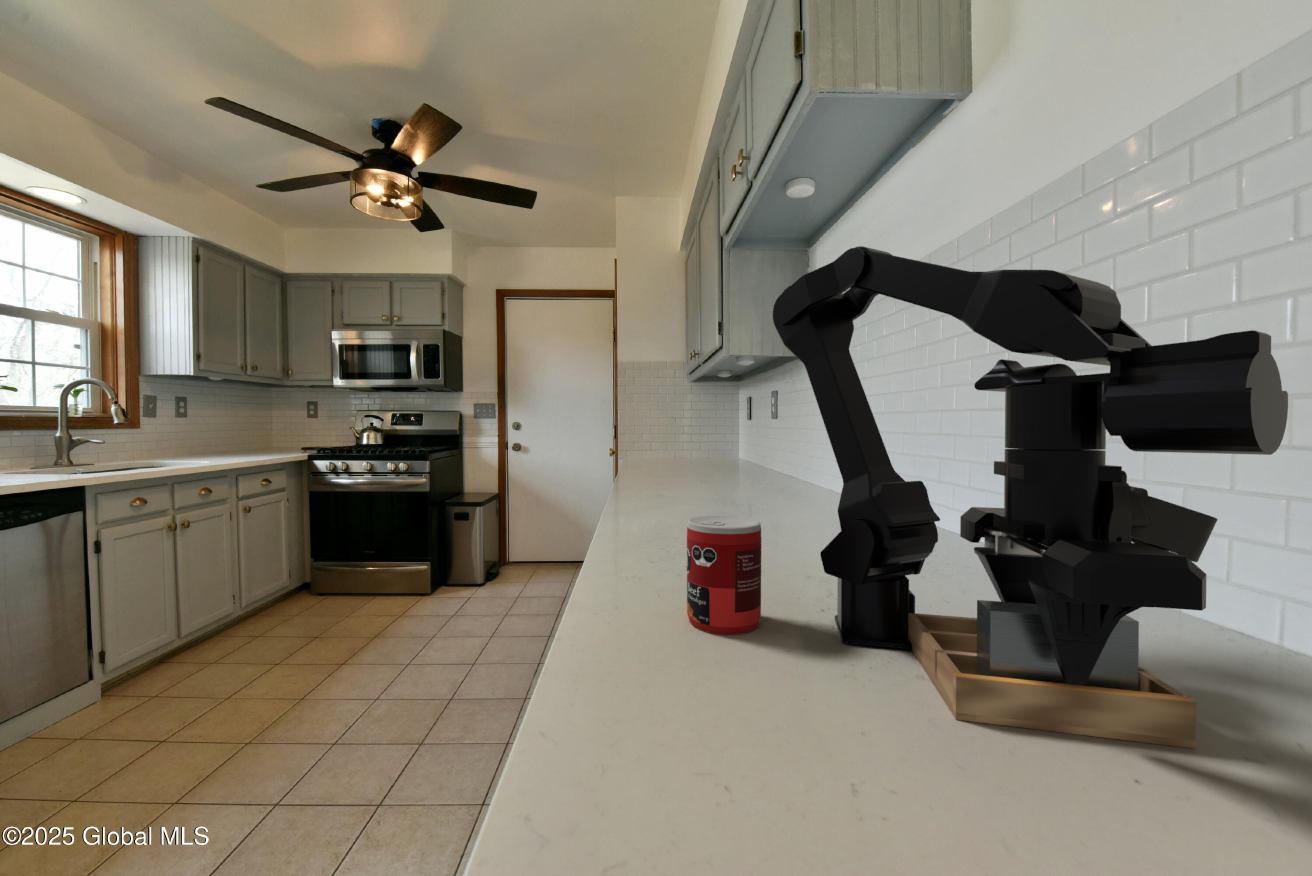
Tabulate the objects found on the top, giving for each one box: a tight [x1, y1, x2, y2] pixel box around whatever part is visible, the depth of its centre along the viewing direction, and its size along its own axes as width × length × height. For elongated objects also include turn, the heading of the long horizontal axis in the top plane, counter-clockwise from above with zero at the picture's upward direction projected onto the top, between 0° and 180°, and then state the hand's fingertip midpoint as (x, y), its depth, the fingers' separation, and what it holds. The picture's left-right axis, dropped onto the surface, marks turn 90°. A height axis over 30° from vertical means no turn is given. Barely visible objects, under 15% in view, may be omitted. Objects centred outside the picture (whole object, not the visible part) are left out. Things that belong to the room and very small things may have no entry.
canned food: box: [686, 515, 762, 636], centre depth 54 cm, size 8×8×11 cm
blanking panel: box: [976, 599, 1140, 691], centre depth 36 cm, size 9×2×7 cm, turn 77°
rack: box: [908, 612, 1197, 749], centre depth 40 cm, size 14×13×3 cm
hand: (1050, 663), depth 36 cm, fingers open, 6 cm apart
